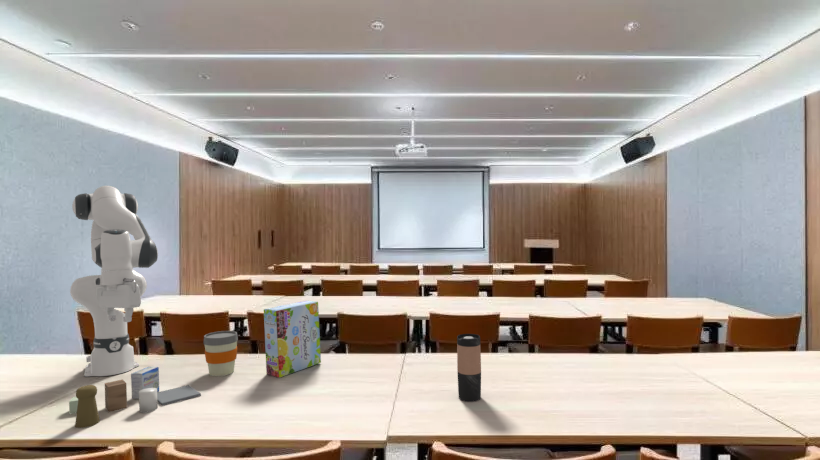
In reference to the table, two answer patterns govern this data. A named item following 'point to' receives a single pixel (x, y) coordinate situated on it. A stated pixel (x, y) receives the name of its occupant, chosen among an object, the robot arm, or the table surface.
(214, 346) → the reusable coffee cup
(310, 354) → the snack box
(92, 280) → the robot arm
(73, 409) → the sage green block
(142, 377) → the medicine box
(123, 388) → the walnut block
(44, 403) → the table surface
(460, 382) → the travel mug
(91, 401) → the cork
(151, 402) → the white smooth pebble
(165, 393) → the slate mat
